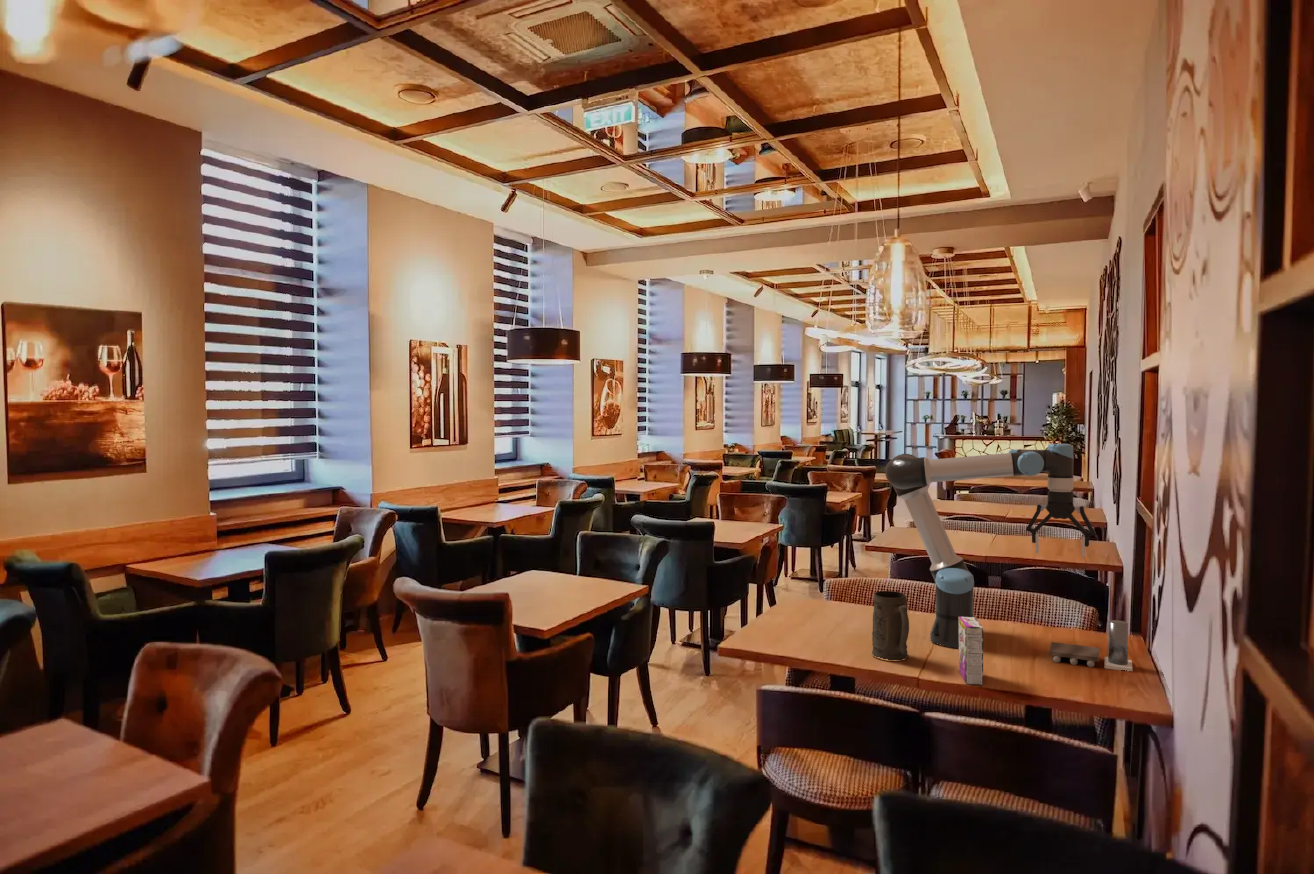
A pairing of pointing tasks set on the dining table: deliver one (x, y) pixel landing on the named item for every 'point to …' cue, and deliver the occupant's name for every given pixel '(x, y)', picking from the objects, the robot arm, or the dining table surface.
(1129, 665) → the plate
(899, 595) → the beer stein
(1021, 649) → the dining table surface
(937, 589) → the robot arm
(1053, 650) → the roller slab
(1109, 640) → the steel roller
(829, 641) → the dining table surface
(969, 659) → the candy bar box
